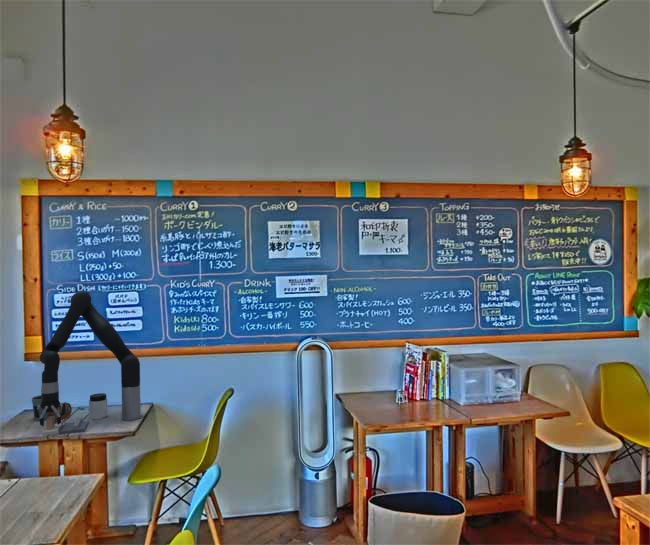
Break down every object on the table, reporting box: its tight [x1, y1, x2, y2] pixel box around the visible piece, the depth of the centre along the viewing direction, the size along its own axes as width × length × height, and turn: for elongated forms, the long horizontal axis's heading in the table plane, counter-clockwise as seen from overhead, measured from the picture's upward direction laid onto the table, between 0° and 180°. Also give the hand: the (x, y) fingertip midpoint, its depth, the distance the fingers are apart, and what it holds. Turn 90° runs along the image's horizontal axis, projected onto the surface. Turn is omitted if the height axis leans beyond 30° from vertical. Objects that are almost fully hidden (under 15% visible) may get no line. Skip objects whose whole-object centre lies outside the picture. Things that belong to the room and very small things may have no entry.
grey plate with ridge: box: [58, 416, 90, 435], centre depth 243 cm, size 11×15×4 cm
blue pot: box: [31, 394, 48, 422], centre depth 261 cm, size 10×10×12 cm
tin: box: [48, 402, 73, 424], centre depth 259 cm, size 15×3×8 cm, turn 168°
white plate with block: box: [41, 416, 64, 436], centre depth 240 cm, size 7×12×6 cm, turn 19°
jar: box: [88, 392, 108, 420], centre depth 263 cm, size 9×8×12 cm
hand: (50, 424), depth 240 cm, fingers open, 6 cm apart
